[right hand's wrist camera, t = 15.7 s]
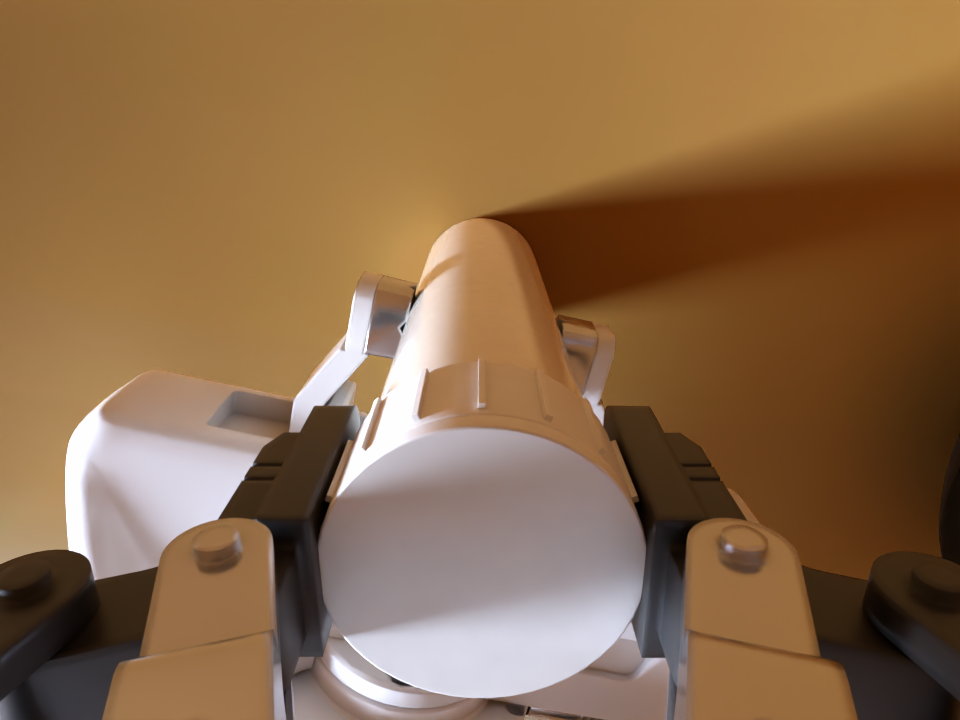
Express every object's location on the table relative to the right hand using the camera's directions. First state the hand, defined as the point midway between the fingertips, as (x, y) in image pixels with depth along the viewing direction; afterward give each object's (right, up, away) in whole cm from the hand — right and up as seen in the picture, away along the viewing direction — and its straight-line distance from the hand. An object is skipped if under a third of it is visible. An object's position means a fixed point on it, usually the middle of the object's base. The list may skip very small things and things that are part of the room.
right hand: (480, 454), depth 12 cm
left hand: (0, +3, +6) cm, 7 cm away
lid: (0, -1, -3) cm, 3 cm away
